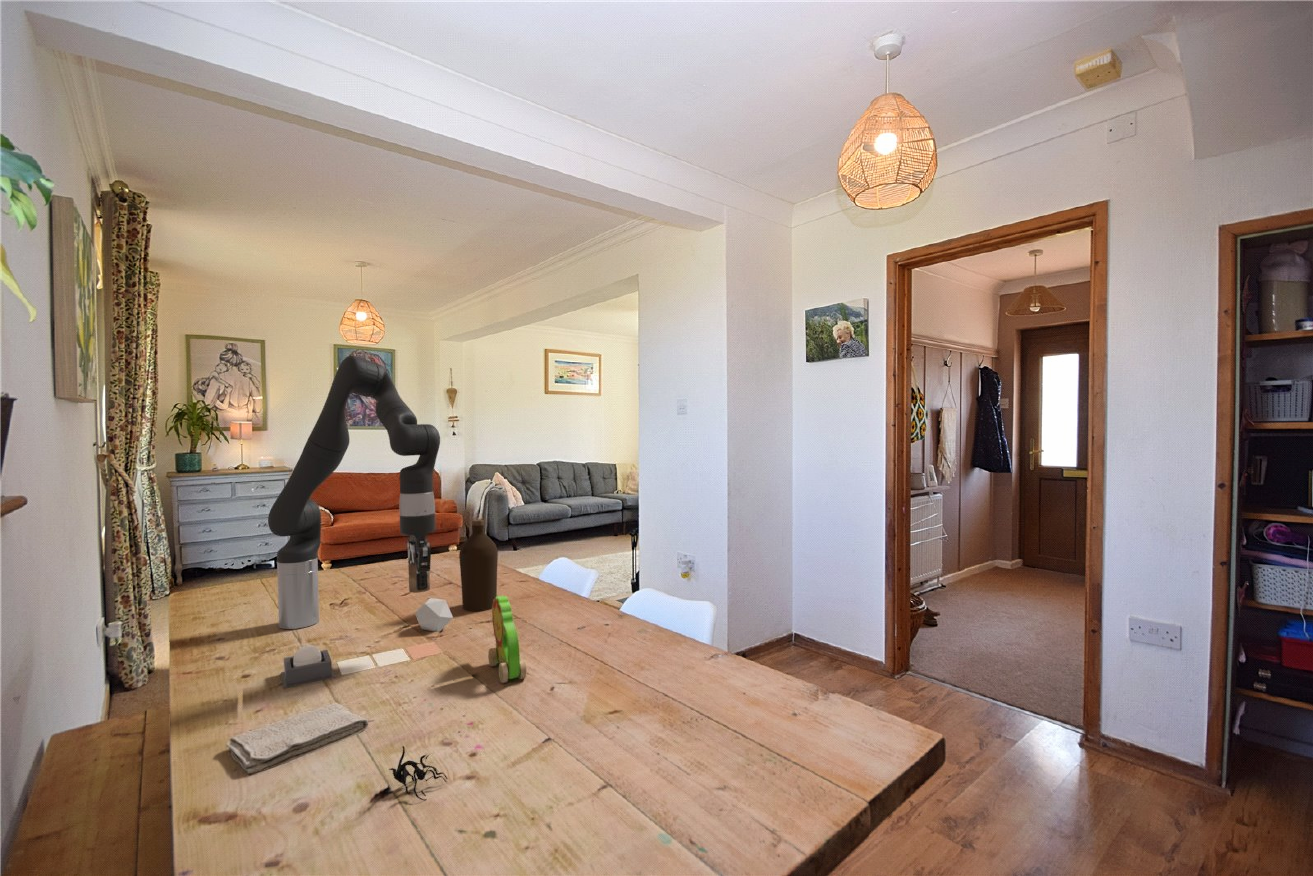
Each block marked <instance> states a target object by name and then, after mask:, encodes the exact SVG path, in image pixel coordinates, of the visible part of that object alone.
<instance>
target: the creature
mask: <svg viewBox="0 0 1313 876" xmlns="http://www.w3.org/2000/svg"><path fill="white" fill-rule="evenodd" d="M405 750H406V749H405V746H404V745H402V753H401V754H402V755H401V756H400V758H399V760H398V764H397V768H393V767H392V768H389V769H388V770H389V771H392V774H393V775H392V776H393V778H394V779H395V781H397V782H398V783H401V784H402V785H403V786H404V787H405V788H404V789H405V794H406V795H410V794H414V795H415V797H416V798H418V799H419V800H421V801H427V798H421V797H420V796H419V795H418V792H417V789H416V788H417V784H418V780H419V781H423V780H425V782H427V781H429V780H430V779H431V778H433V779H434V780H438V779H439V778H441V779H443V781H444V782H445V783H448V782H447V780H449V778H448V776H447V775H446V774H445V773H444V772H442V771H441V772H439V770H438V769H437V768H436V767H434V766H433V765H427V764H426V761H427V759H428V757H429V755H430V753H429V754H428V755H426V754H423V755H421V756H420V758H419V762H417V761H413V760H407V761H405V762H403V760H404V757H405V753H406V751H405ZM424 760H425V763H424ZM402 762H403V763H402ZM419 765H421V767H422V769H421V768H420V766H419ZM407 766H411V767H412V768H413V769H414V770H413V774H412V773H410V772H409V770H408V769H407ZM424 769H426V770H424ZM428 772H431V774H432V776H430V777H429V778H427V779H425V778H426V776H427V773H428ZM442 774H443V775H444V776H442ZM408 776H409V777H411V781H412V782H414V785H413V790H412V791H410V792H409V789H408V788H409V787H408V786H407V784H406V783H407V777H408ZM420 793H422V795H424V797H427V795H426V794H425V793H424V791H423V790H421V791H420Z"/></svg>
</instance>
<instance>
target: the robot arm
mask: <svg viewBox="0 0 1313 876" xmlns="http://www.w3.org/2000/svg"><path fill="white" fill-rule="evenodd" d="M351 394H354V395H357V396H362V397H365V398H372V399H374V400H375V401H376V404H375V407H374V409H375V414H376V418H377V419H378V421H379V422H380V423H381V425H383V427H384V428H385V430H386V431H387V432H386V433H387V435H388V440H389V446H390V449H391V451H393V452H394V454H396V455H399V456H402V457H408V456H409V457H410V456H411V457H412V456H419V457H418V459H417V461H416V463H414V464H411V465H409V466H404V467H403V468H401V469H400V471H399V505H398V506H399V509H398V510H399V532H400V534H401V535H402V536H407V537H409V539H406V541H405V542H406V548H407V560H408V561H407V563H408V565H409V564H410V563H414V564H415V568H416V570H415V572H416V584H417V590H425V589H427V588H428V583H427V572H428V571H429V572H430V571H431V560H432V558H431V556H432V546H430V542H429V540H428V539H427V535H429V534H433V533H434V532H436V529H437V528H436V527H437V526H436V502H435V494H434V470H435V466H436V461H437V458H438V453H439V450H440V445H441V435H440V433H439V430H438V428H436V426H434V425H432V424H428V423H423V424H422V423H418V419H417V417H416V414H415V413H414V412H413V410H411V408H410V407H409V406H408V405H407V403H405V401H404V400H403V398H401V396H400V395H399V392H398V390H397V388H396V385H395V384H394V381H393V378H392V377H391V375H390V373H389V371H388V370H387V369H386V367H384V365H382V364H381V363H378V362H376V361H375V362H374V361H372V360H368V359H366V358H362V357H360V356H356V355H348V356H346V357H345V358H344V359H343V360H342V361H341V363H340V365H339V366H338V368H337V370H336V372H335V375H334V378H333V379H332V383H331V386H330V389H329V392H328V395H327V397H326V400H325V402H324V405H323V406H322V410H321V412H320V413H319V416H318V418H317V420H316V422H315V425H314V427H313V428H312V430H311V432H310V435H309V436H308V438H307V441H306V442H305V444H304V446H303V450H302V452H301V454H300V456H299V458H298V460H297V462H296V463H295V465H294V468H293V470H292V472H291V474H290V476H289V478H288V480H287V482H286V484H285V485H284V487H283V489H282V490H281V492H280V493H279V495H278V496H277V498H276V500H275V501H274V503H273V505H272V507H271V508H270V510H269V514H268V517H267V525H268V527H269V530H270V532H271V533H272V534H273V535H275V536H278V537H289V538H288V541H287V542H286V543H285V545H283V546H282V547H281V548H279V550H278V551H277V552H276V565H277V566H276V567H277V600H278V602H277V604H278V628H279V629H282V630H295V629H296V630H297V629H301V628H307V627H310V626H313V625H315V624H317V623H319V622H320V604H319V603H320V602H319V601H320V600H319V599H320V598H319V567H318V565H319V564H318V560H319V559H318V554H319V553H318V551H319V549H320V547H321V534H322V514H321V510H320V507H319V505H318V503H317V502H316V501H315V500H313V499H312V498H311V496H312V495H313V494H314V492H315V491H316V490H317V489H318V488H319V487H320V486H321V485H322V484H323V483H324V481H326V480H328V478H329V477H330V476H331V475H332V474H333V473H334V472H335V471H336V470H337V469H338V468H339V466H340V464H341V463H342V460H343V459H344V456H345V454H346V452H347V450H348V448H349V445H350V433H349V427H348V424H347V423H348V422H347V419H346V405H347V402H348V399H349V397H350V395H351ZM422 563H424V565H425V566H422V567H421V564H422Z"/></svg>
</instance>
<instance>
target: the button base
mask: <svg viewBox="0 0 1313 876" xmlns="http://www.w3.org/2000/svg"><path fill="white" fill-rule="evenodd" d="M320 652H321V662H318V663H313V664H309V665H304V666H299V667H294V668H293V658H294V655H292V656H288V657H284V658H283V671H281V673H280V675H281V681H282V688H283V689H288V688H292V687H297V686H302V685H306V684H311V683H315V682H320V681H323V680H329V679H334V678H336V675H335V672H334V670H333V667H332V665H333V664H332V659H331V655H330V653H329V651H328V649H324V650H320Z"/></svg>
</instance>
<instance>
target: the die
mask: <svg viewBox="0 0 1313 876" xmlns="http://www.w3.org/2000/svg"><path fill="white" fill-rule="evenodd" d="M414 615H415V617H416V619H417V622H418V624H419V626H420V629H421V630H425V631H430V632H436V631H437V632H438V633H439V632H441V631H442V630H443V629H444V628H445V627H446V626H447V625H448V624H449V623H450V622H451V621H452V619H454V616H453V614H452V612H451V609H450V607H449V605H448V603H447V601H446V599H441V598H433V597H430V598H428V600H426V601H425V603H423V604H422V605H421V606H420V607H419V608H418V609H417V610H416V611H414Z"/></svg>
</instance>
